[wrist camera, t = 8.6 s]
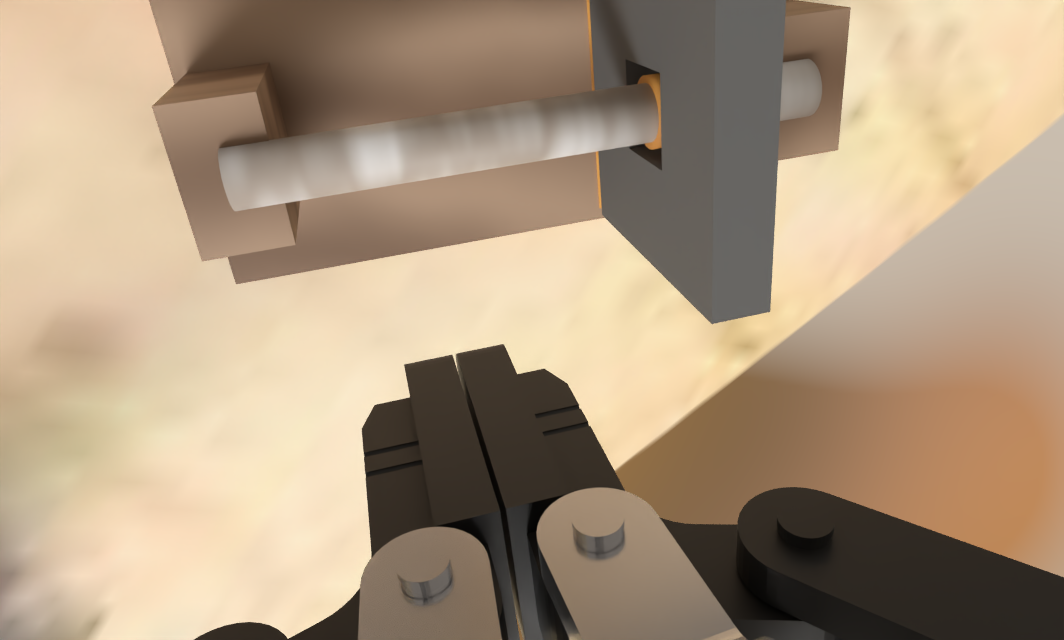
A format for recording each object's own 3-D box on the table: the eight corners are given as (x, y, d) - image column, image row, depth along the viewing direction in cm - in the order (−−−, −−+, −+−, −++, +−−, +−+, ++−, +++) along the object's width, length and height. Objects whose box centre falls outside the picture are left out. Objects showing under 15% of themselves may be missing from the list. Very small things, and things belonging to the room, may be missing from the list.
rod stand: (149, -30, 28) (78, -18, 20) (754, -99, 32) (899, -113, 24) (239, 269, 34) (212, 374, 25) (745, 179, 37) (860, 245, 29)
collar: (585, -64, 29) (716, -66, 19) (636, -70, 29) (789, -75, 19) (602, 214, 34) (711, 324, 24) (644, 206, 34) (769, 311, 24)
